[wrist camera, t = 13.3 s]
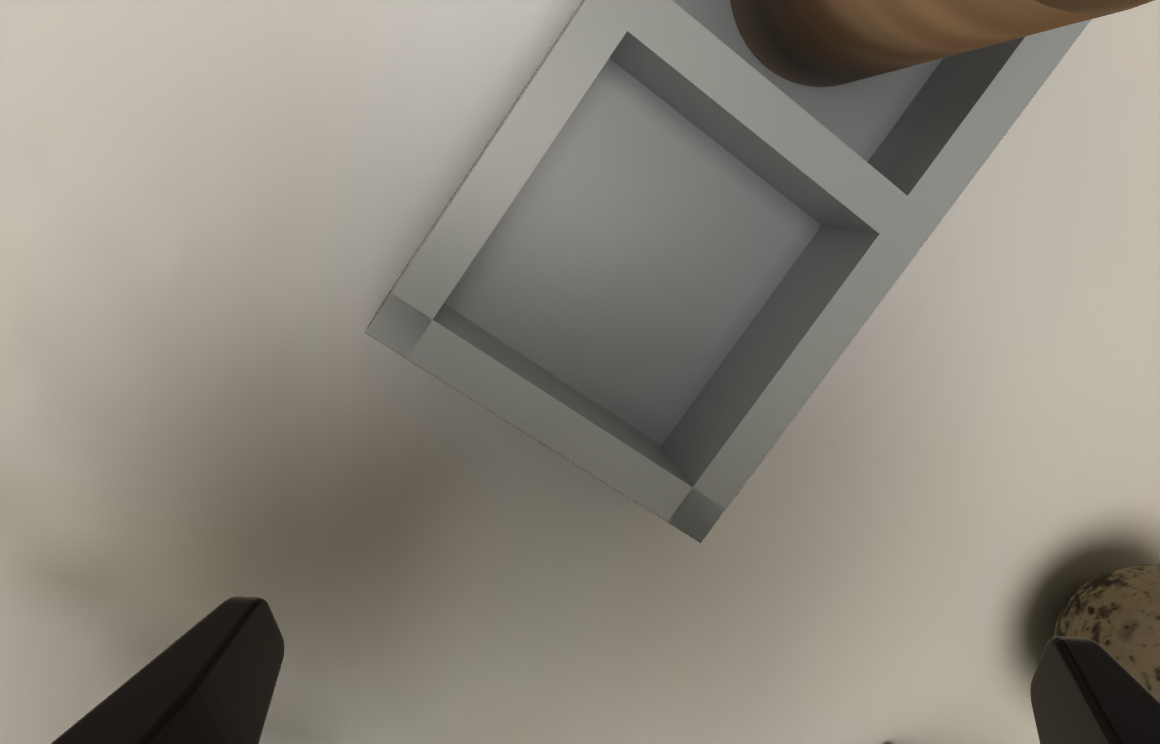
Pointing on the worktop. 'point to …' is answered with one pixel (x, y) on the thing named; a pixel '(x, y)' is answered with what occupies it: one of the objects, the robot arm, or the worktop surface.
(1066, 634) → the decorative egg
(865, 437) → the worktop surface
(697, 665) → the worktop surface
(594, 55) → the grey divided tray
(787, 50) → the dome-topped wooden peg
